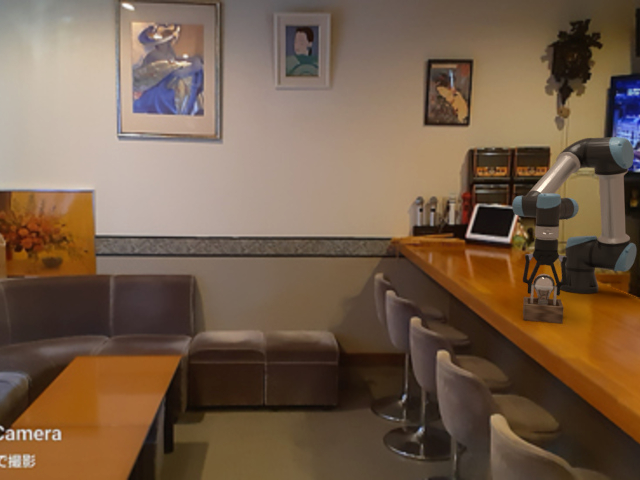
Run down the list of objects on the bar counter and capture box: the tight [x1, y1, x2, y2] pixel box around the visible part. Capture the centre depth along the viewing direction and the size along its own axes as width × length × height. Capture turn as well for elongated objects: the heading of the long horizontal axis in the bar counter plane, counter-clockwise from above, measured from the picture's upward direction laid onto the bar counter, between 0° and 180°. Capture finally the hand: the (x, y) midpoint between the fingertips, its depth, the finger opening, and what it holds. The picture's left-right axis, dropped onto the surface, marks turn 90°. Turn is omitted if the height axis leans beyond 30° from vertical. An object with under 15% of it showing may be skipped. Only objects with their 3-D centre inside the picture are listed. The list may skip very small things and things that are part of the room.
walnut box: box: [522, 296, 564, 324], centre depth 207 cm, size 12×12×6 cm
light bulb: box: [532, 273, 556, 305], centre depth 206 cm, size 7×7×12 cm
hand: (542, 303), depth 207 cm, fingers closed on light bulb, 7 cm apart
